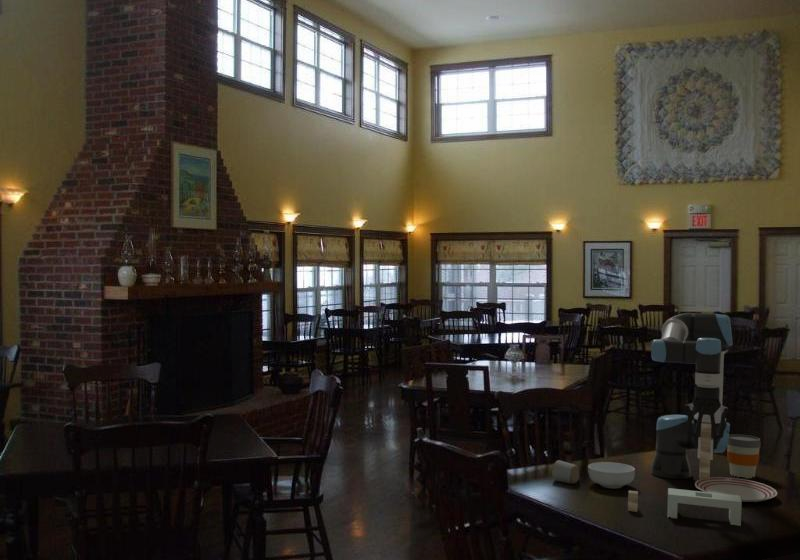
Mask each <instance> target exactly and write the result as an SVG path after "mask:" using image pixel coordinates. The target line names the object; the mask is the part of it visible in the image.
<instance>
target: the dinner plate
mask: <svg viewBox="0 0 800 560" xmlns="http://www.w3.org/2000/svg"><path fill="white" fill-rule="evenodd" d="M694 486H695V488H696V489H698V490H700V492H710V493H719V494H729V495H739V496H740V499H741V502H754V503H759V502H765V501H768V500H771V499H773V498H775V497H776V496H778V492H777V490H776V489H775V488H773V487H772V486H770V485H767V484H765V483H761V482H759V481H758V482H757V481H754V480H750V479H746V478H739V477H724V476H723V477H722V476H720V477H719V476H718V477H717V476H715V477H714V476H713V477H712V476H711V477H710V480H705V479H700V478H699V479H697V480H696V481H695V482H694Z"/></svg>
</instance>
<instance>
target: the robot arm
mask: <svg viewBox="0 0 800 560" xmlns="http://www.w3.org/2000/svg"><path fill="white" fill-rule="evenodd" d="M660 332H661V338H659V339H653V340H652V342H651V349H650V350H651V352H650V353H651V355H650V357H651V359H652V361H654V362H661V363H674V364H675V363H678V364H679V363H680V364H690V365H691V364H693V365H694V364H695V373H694V374H695V375H694V380H695V381H694V383H695V386H694V399H693V400H692V402H691V403H686V404H685V405H684V406H685V410H686V412H687V415H686V414H666V415H661V416H659V417H658V418H657V420H656V428H655V430H656V438H655V439H656V440H655V455H654V456H653V460H652V463H651V465H650V473H651V475H652V476H656V477H659V478H662V479H663V478H665V479H671V480H672V479H673V480H684V479H685V480H687V479H690V478H691V477H692V469H691V466H690V462H689V459H688V450H689V451H697V459H699V460H700V451H701V422H710V423H711V450H710V461H713V459H714V458H713V456H714V454H715V453H717V454H718V453H719V454H723V453H725V451H727V448H728V446H727V442H728V436H729V435H730V430H731V429H730V427H731V424H730V422H727V418H726V417H727V414H728V412H729V411H730V410H729V408H728V407H727V406H724V405H723V394H724V392H723V391H724V366H725V365H724V360H725V354H726V353H727V352H728V351H729V347H731V346H732V347H733V343H734V342H733V334H732V325H731V318H730V316H729V315H727V314H719V313H700V312H698V313H697V312H695V313H694V312H693V313H692V312H684V313H680V314H677V315H674V316H672V317H669V318H668V319H666V320H665V321H664V322H663V324H662V327H661V331H660ZM694 408H695V409H696V410H697V412H696V413H695V414H694V415H693V416H692V411H693V410H694ZM692 417H693V418H692Z"/></svg>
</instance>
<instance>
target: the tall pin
mask: <svg viewBox="0 0 800 560" xmlns="http://www.w3.org/2000/svg"><path fill="white" fill-rule="evenodd" d="M710 450H711V423H710V422H701V451H700V459H699V473H698V476H699V480H700V479H705V480H710V478H711V477H710V475H711V460H710Z"/></svg>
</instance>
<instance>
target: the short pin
mask: <svg viewBox="0 0 800 560" xmlns="http://www.w3.org/2000/svg"><path fill="white" fill-rule="evenodd" d="M627 494H628V495H627V511H629V512H636V513H638V509H639V508H638V507H639V504H638V503H639V502H638V501H639V491H637V490H628V493H627Z"/></svg>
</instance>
